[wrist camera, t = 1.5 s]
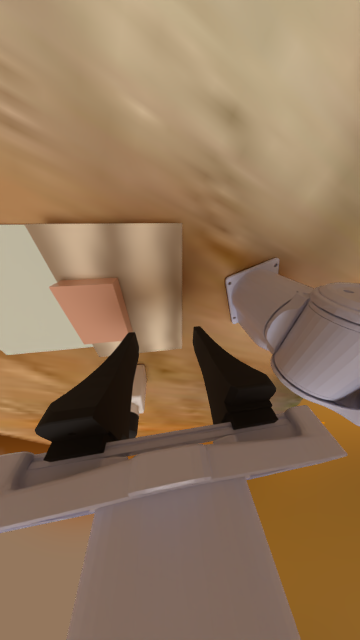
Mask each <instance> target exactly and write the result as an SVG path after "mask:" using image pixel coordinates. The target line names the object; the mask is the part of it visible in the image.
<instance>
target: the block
mask: <svg viewBox="0 0 360 640" xmlns="http://www.w3.org/2000/svg"><path fill="white" fill-rule="evenodd" d="M49 288H50V290H51V292H52V293H53V295H54V297H55V298H56V300H57V301H58V303H59V305H60V306H61V308H62V309H63V311H64V313H65V314H66V316H67V318H68V319H69V321H70V322H71V324H72V326H73V327H74V329H75V330H76V332H77V334H78V335H79V337H80V339H81V340H82V342H83V343H84V344H95V343H105V342H116V341H122V340H123V339H124V338H125V336H126V335H127V334H128V333H129V332H133V330H132V327H131V323H130V320H129V316H128V313H127V309H126V306H125V302H124V299H123V295H122V292H121V288H120V285H119V281H118V278H100V279H78V280H61V281H59V282H57V283H55V284H53V285H51V286H50V287H49Z"/></svg>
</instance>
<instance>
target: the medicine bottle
mask: <svg viewBox="0 0 360 640" xmlns="http://www.w3.org/2000/svg"><path fill="white" fill-rule="evenodd" d="M146 382H147V381H146V373H145V366H144V365H143V364H142V365H137V367H136V372H135V377H134V382H133V390H132V400H131V412H130V427H129V439H132V438H135V437H136V435H137V429H138V419H139V413H143V412H144V407H145V394H146Z"/></svg>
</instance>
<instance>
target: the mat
mask: <svg viewBox="0 0 360 640" xmlns="http://www.w3.org/2000/svg"><path fill="white" fill-rule="evenodd" d="M55 283H57V281H56V279H55V278H54V276H53V274H52V272H51V271H50V269H49V267H48V265H47V264H46V262H45V260H44V258H43V257H42V255H41V253H40V251H39V250H38V248H37V246H36V244H35V242H34V241H33V239H32V237H31V235H30V234H29V232H28V230H27V228H26V227H25V225H0V350H2V351H3V352H4V353H5V354H6V355H13V354H23V353H33V352H44V351H54V350H65V349H75V348H86V347H94V346H93V345H92V344H84V343H83V342H82V340H81V339H80V337H79V335H78V334H77V332H76V330H75V329H74V327H73V326H72V324H71V322H70V321H69V319H68V318H67V316H66V314H65V313H64V311H63V309H62V308H61V306H60V305H59V303H58V301H57V300H56V298H55V297H54V295H53V293H52V292H51V290H50V288H49V287H50V286H51V285H53V284H55Z"/></svg>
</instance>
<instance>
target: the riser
mask: <svg viewBox="0 0 360 640" xmlns="http://www.w3.org/2000/svg"><path fill="white" fill-rule="evenodd" d="M24 225H25V227H26V228H27V230H28V232H29V234H30V235H31V237H32V239H33V241H34V242H35V244H36V246H37V248H38V250H39V251H40V253H41V255H42V257H43V258H44V260H45V262H46V264H47V265H48V267H49V269H50V271H51V272H52V274H53V276H54V278H55V279H56V281H57V282H59V281H61V280H78V279H100V278H118V281H119V285H120V288H121V292H122V295H123V299H124V302H125V306H126V309H127V313H128V316H129V320H130V323H131V327H132V330H133V332H135V333H136V337H137V341H138V344H139V353H143V352H153V351H162V350H172V349H182V223H124V224H24ZM121 342H122V341H116V342H105V343H95V344H92V345H93V346H94V348H95V350H96V352H97V354H98V355H99V357H105V356H110V355H111V354H112V353H113V352H114V350H115V349H116V348H117V347H118V345H119V344H120V343H121Z"/></svg>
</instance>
